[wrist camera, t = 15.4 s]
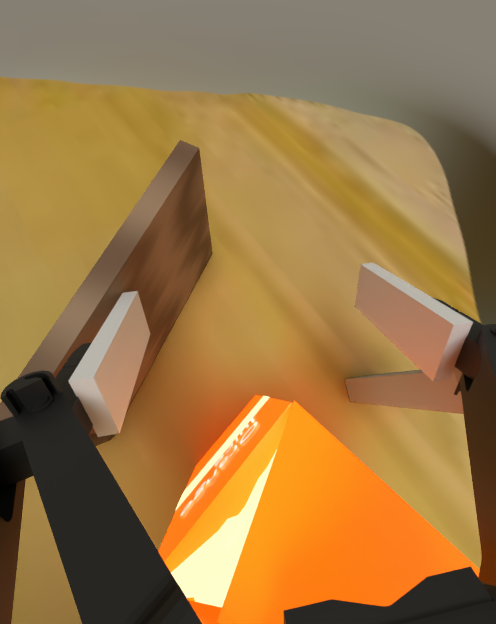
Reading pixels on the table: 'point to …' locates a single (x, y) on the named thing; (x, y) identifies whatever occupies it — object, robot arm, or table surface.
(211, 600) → the orange juice
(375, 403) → the grey rectangular posts
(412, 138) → the table surface
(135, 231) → the gate
